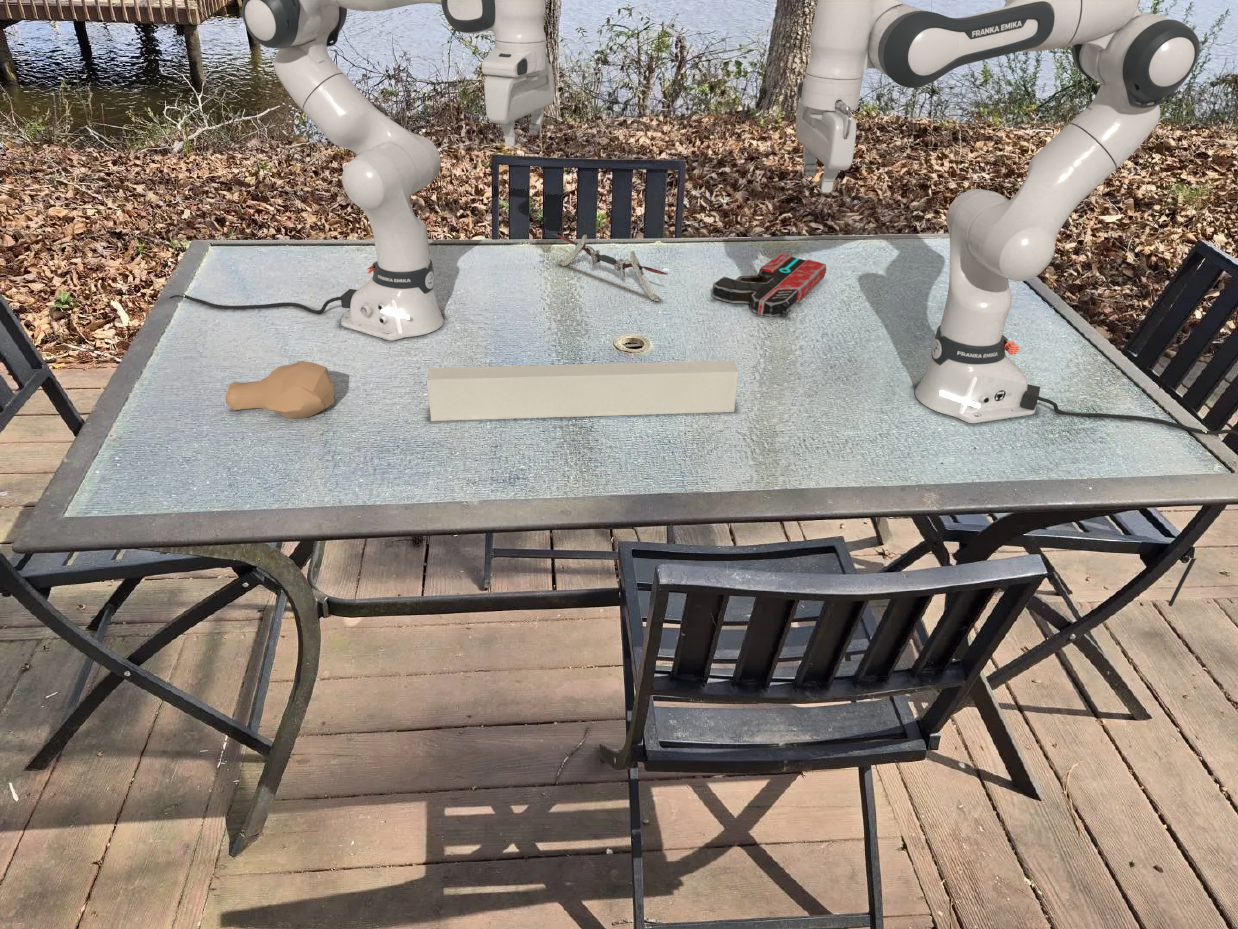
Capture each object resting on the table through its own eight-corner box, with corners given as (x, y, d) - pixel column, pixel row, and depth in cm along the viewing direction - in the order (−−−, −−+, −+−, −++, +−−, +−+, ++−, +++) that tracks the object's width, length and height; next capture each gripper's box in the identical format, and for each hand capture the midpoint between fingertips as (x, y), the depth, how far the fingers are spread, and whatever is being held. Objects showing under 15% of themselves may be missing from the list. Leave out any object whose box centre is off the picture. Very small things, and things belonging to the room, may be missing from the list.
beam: (431, 421, 161) (426, 379, 156) (433, 408, 165) (428, 367, 160) (734, 412, 167) (738, 371, 162) (729, 400, 170) (733, 360, 166)
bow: (669, 303, 208) (671, 262, 203) (664, 305, 207) (666, 264, 202) (556, 260, 230) (555, 222, 224) (551, 262, 228) (550, 224, 223)
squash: (333, 425, 159) (316, 386, 153) (227, 433, 161) (206, 395, 155) (347, 387, 167) (331, 349, 161) (246, 396, 169) (227, 358, 162)
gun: (708, 284, 207) (784, 305, 199) (760, 245, 229) (831, 262, 221) (706, 302, 209) (781, 323, 201) (758, 261, 231) (828, 278, 223)
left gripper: (531, 47, 162) (533, 125, 170) (476, 64, 146) (481, 150, 154) (562, 50, 160) (563, 129, 168) (509, 68, 144) (513, 154, 152)
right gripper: (872, 109, 130) (855, 201, 138) (831, 82, 147) (817, 166, 155) (831, 108, 129) (816, 201, 137) (794, 81, 146) (782, 165, 154)
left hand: (523, 139), depth 161 cm, fingers open, 8 cm apart
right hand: (816, 182), depth 146 cm, fingers open, 8 cm apart
